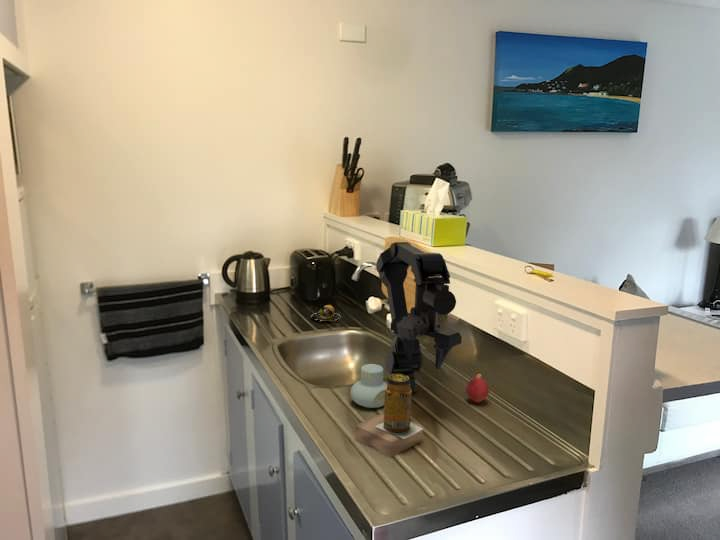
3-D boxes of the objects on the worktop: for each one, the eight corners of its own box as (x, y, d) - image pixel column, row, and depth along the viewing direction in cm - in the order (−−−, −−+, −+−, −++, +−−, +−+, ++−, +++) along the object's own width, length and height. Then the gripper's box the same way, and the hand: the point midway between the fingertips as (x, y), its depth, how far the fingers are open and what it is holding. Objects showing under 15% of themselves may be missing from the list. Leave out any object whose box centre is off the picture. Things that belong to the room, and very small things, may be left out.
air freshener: (368, 415, 147) (369, 377, 145) (345, 404, 153) (346, 368, 151) (396, 402, 155) (397, 367, 153) (373, 393, 160) (374, 358, 158)
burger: (308, 316, 231) (308, 298, 230) (337, 315, 235) (337, 297, 233) (314, 325, 220) (314, 306, 219) (344, 324, 223) (344, 305, 222)
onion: (471, 408, 153) (473, 379, 151) (461, 399, 158) (463, 371, 157) (491, 406, 154) (493, 377, 153) (481, 397, 160) (483, 369, 158)
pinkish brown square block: (355, 441, 135) (355, 425, 134) (386, 426, 143) (387, 410, 142) (391, 459, 127) (392, 442, 126) (422, 442, 135) (423, 426, 134)
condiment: (394, 417, 138) (396, 369, 136) (423, 429, 133) (426, 379, 130) (374, 427, 133) (376, 377, 131) (403, 440, 128) (406, 389, 125)
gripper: (376, 301, 145) (374, 361, 148) (435, 317, 132) (431, 383, 135) (406, 294, 152) (403, 351, 156) (464, 309, 139) (460, 371, 142)
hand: (423, 364), depth 147 cm, fingers open, 9 cm apart
